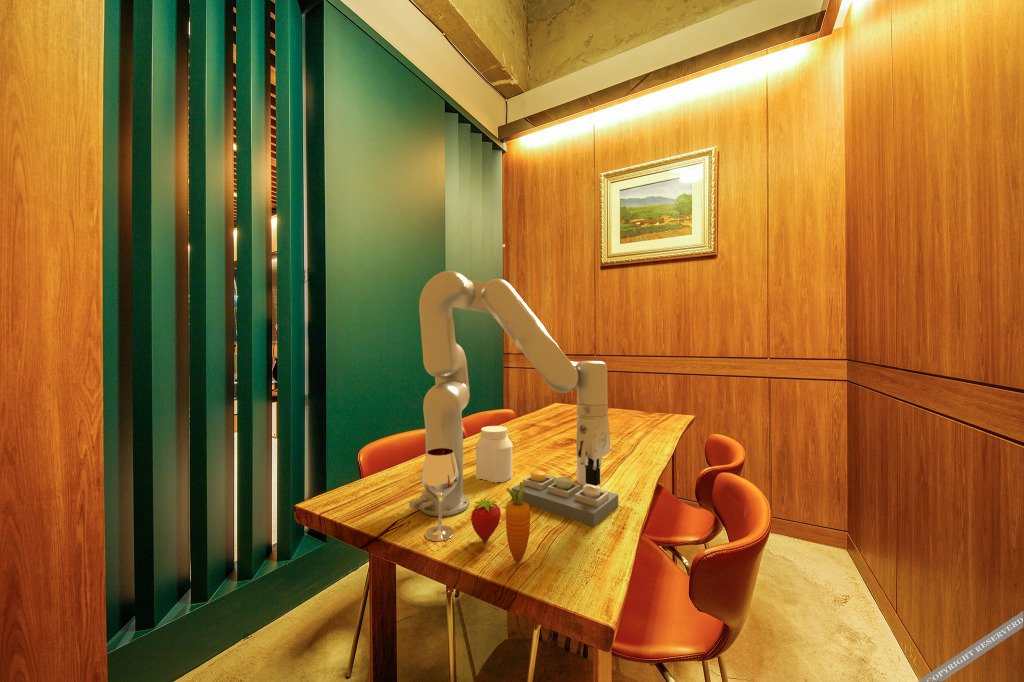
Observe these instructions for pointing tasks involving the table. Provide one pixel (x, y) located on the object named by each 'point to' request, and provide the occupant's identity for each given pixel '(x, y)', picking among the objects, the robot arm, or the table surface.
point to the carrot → (517, 524)
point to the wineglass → (440, 485)
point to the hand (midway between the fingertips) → (592, 483)
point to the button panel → (568, 500)
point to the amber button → (538, 476)
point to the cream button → (591, 490)
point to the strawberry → (485, 518)
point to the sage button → (563, 482)
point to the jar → (494, 455)
